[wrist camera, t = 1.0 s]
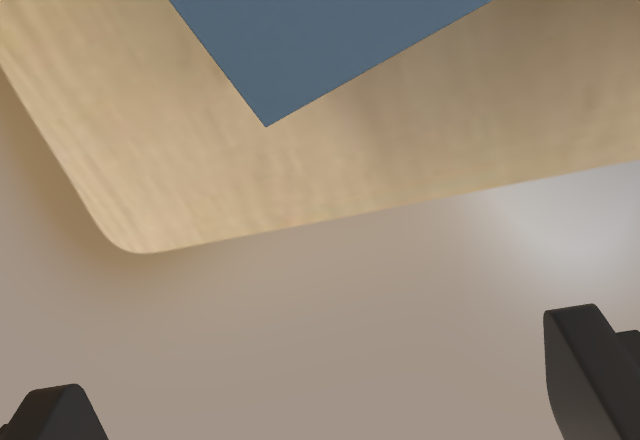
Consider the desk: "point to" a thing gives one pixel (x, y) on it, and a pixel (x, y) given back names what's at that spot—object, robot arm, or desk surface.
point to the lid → (308, 42)
